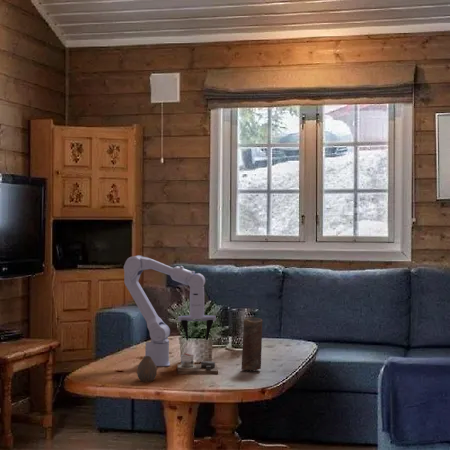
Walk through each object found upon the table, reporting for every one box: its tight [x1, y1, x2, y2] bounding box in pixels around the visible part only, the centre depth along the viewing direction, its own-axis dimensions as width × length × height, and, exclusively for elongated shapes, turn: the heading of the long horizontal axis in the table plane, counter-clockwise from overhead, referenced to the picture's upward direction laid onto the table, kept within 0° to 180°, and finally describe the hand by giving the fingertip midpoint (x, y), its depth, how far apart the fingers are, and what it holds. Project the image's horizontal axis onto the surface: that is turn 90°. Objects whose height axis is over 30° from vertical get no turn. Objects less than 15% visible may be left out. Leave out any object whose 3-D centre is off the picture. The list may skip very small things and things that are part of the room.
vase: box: [136, 355, 158, 383], centre depth 320 cm, size 7×7×9 cm
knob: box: [180, 352, 195, 368], centre depth 342 cm, size 5×5×5 cm
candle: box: [241, 317, 263, 372], centre depth 343 cm, size 8×7×20 cm
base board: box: [177, 360, 219, 375], centre depth 342 cm, size 15×14×3 cm
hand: (197, 339), depth 351 cm, fingers open, 7 cm apart
